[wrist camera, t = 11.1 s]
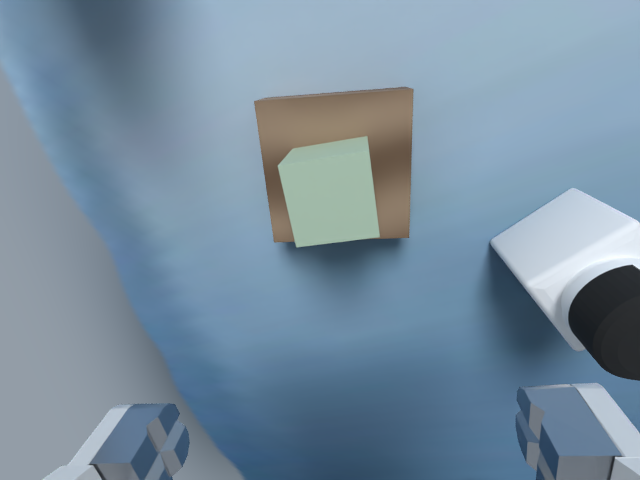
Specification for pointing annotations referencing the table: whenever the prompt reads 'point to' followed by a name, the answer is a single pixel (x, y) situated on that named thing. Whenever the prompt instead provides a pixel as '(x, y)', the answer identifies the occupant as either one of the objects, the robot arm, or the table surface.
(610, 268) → the medicine bottle
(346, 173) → the sage green block
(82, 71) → the table surface
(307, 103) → the walnut block
